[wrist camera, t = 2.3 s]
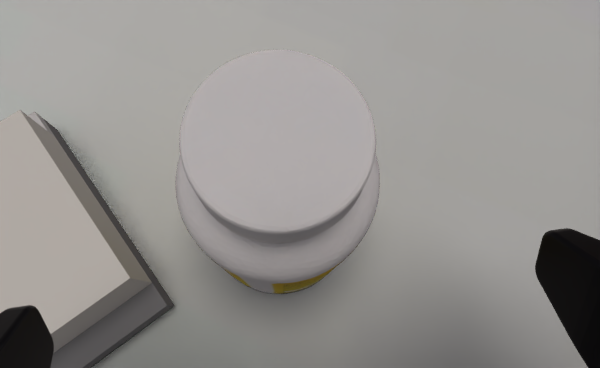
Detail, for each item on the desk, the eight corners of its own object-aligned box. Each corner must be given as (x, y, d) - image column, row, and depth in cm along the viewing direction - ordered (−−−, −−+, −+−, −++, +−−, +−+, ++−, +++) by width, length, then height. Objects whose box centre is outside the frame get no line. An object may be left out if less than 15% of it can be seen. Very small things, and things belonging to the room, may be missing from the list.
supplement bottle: (358, 182, 19) (437, 57, 10) (326, 310, 18) (381, 312, 8) (236, 148, 19) (194, -9, 10) (193, 272, 18) (96, 230, 8)
